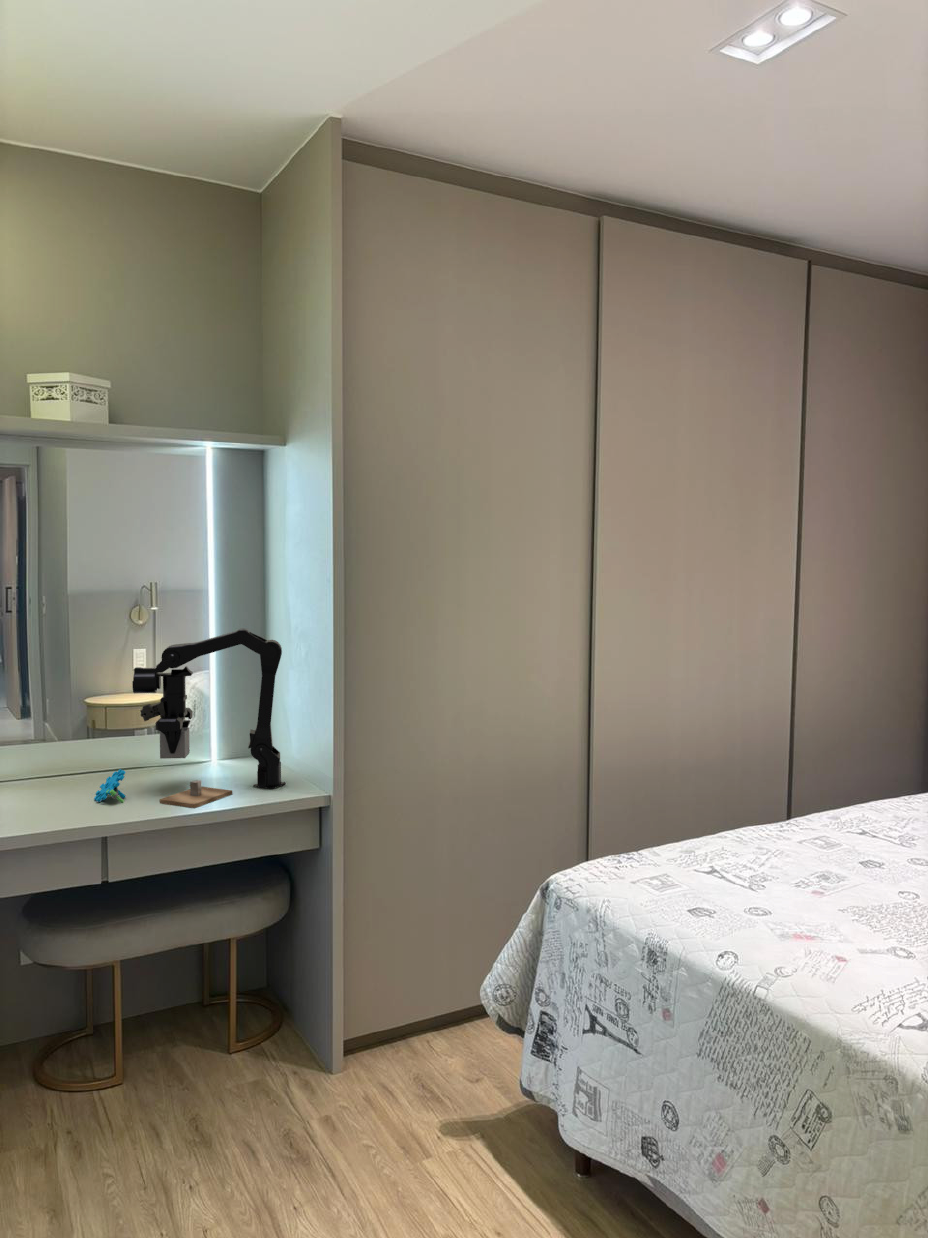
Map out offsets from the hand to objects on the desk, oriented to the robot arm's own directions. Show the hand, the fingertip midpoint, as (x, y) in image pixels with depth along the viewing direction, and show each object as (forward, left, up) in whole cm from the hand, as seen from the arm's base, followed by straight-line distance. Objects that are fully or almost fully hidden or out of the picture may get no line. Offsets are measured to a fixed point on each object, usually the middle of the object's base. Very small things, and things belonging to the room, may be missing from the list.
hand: (175, 750), depth 256 cm
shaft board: (+5, +11, -10) cm, 16 cm away
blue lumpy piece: (+16, -8, -11) cm, 20 cm away
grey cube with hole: (0, 0, -1) cm, 1 cm away
